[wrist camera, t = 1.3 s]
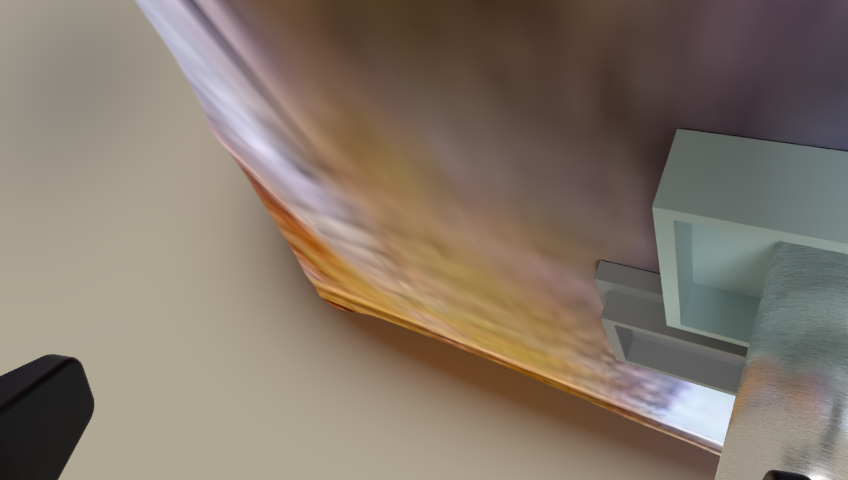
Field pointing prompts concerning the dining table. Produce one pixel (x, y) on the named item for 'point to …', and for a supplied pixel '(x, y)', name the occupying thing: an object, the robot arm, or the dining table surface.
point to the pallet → (661, 332)
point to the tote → (739, 223)
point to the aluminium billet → (794, 373)
